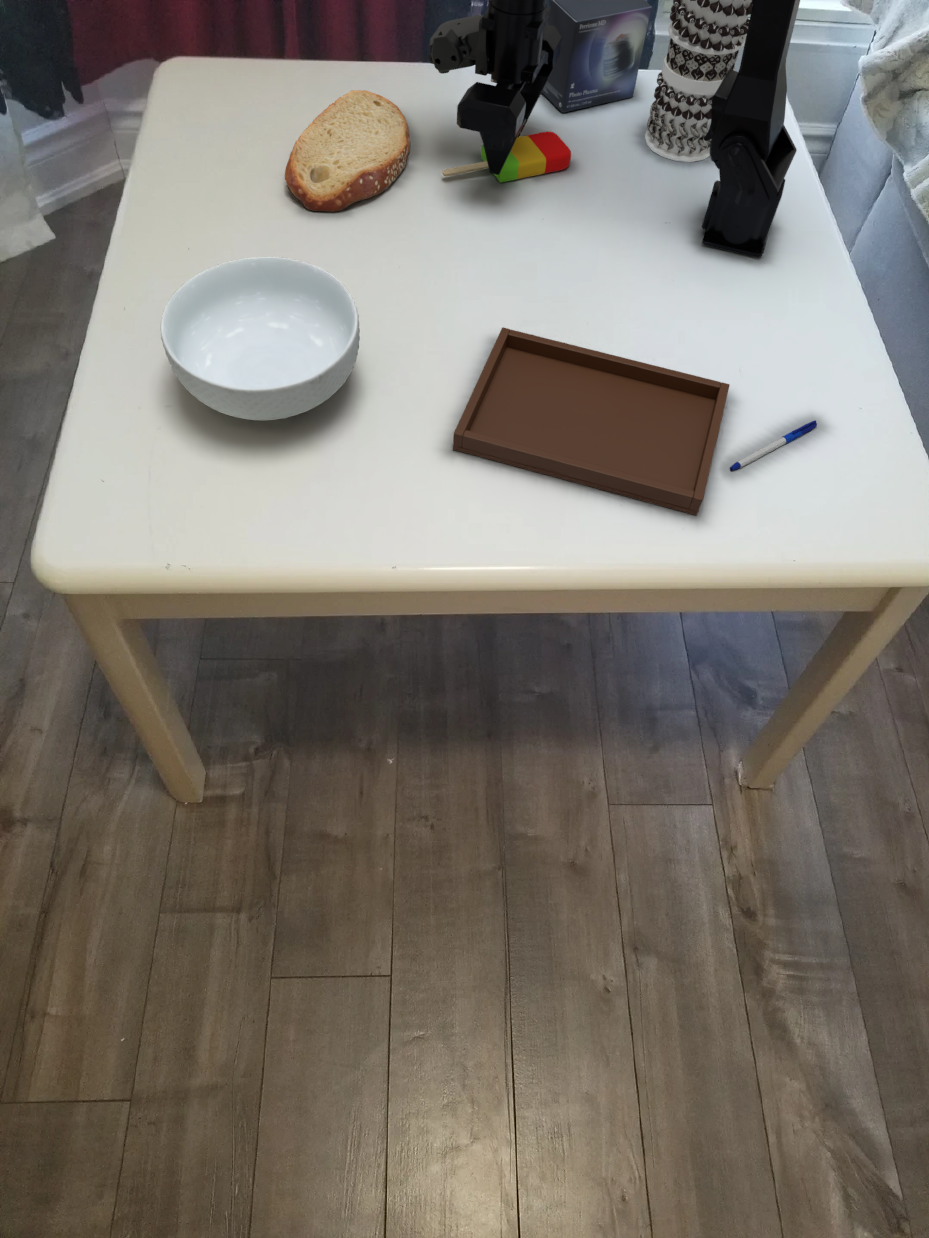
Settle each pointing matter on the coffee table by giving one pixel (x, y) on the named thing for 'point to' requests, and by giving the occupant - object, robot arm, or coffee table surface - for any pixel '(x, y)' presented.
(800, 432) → the ballpoint pen
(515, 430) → the tray
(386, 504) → the coffee table surface
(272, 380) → the cereal bowl
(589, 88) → the small box
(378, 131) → the bread slice
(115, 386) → the coffee table surface
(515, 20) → the robot arm
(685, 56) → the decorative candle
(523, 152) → the popsicle
